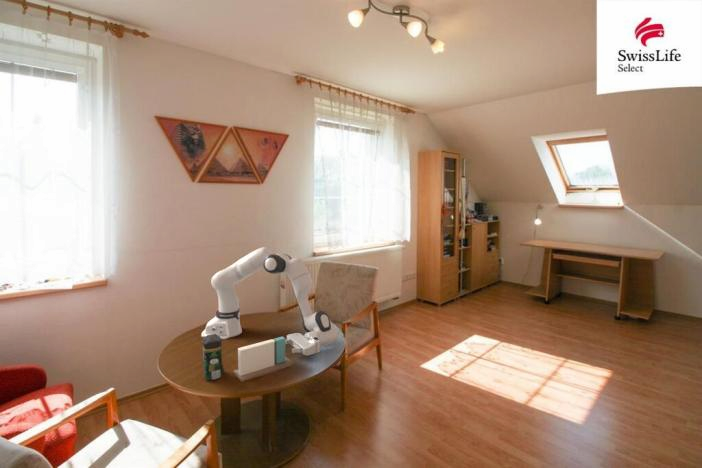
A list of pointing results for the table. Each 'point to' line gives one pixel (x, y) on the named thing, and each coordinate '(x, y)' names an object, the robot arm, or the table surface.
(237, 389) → the table surface
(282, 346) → the teal rectangular block
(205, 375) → the coffee jar
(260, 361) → the stand
